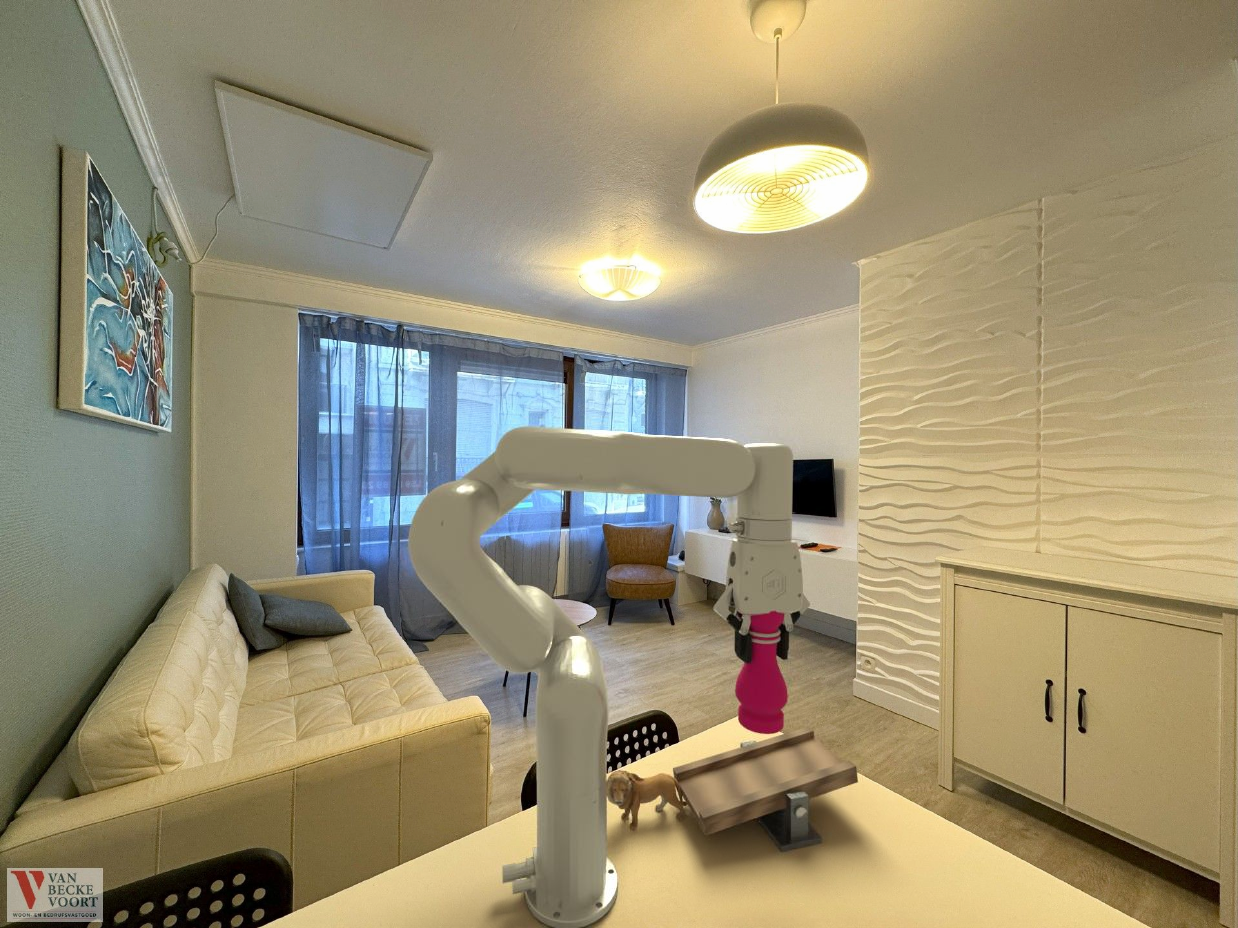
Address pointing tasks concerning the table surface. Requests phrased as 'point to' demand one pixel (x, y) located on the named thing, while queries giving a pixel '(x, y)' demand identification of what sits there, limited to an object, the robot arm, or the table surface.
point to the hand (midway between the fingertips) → (761, 656)
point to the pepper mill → (762, 678)
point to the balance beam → (760, 778)
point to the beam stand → (790, 822)
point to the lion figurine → (643, 793)
